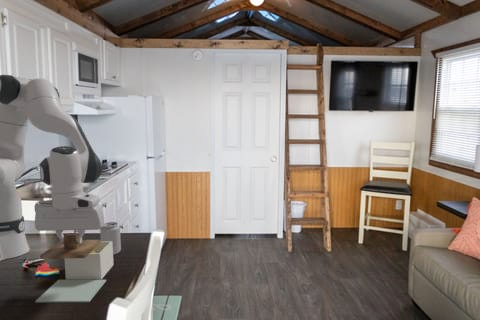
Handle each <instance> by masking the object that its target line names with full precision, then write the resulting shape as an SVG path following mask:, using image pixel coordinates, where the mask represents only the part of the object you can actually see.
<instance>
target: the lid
mask: <svg viewBox="0 0 480 320" xmlns="http://www.w3.org/2000/svg"><path fill="white" fill-rule="evenodd" d="M77 237H79V233H78V232H69V233H66V234H65V235H64V237H63V238H64V244H60V240H59V241H58V242H57V243H55V244H54V245H53V246H51V247H50V248H49V249H47V250H45V251H44V252H43V253H41V254H40V255H39V259H40V260H50V259H51V260H59V259H60V260H61V259H62V260H65V259H69V258H85V257H86V256H87V255H88V254H89V253H90V252H91V251H92V250H93V249H94V248H96V247H97V246H98V245H99V244H100V243H101V239H82V243H81V244H76V243H75V242H76V241H75V238H77Z"/></svg>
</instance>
